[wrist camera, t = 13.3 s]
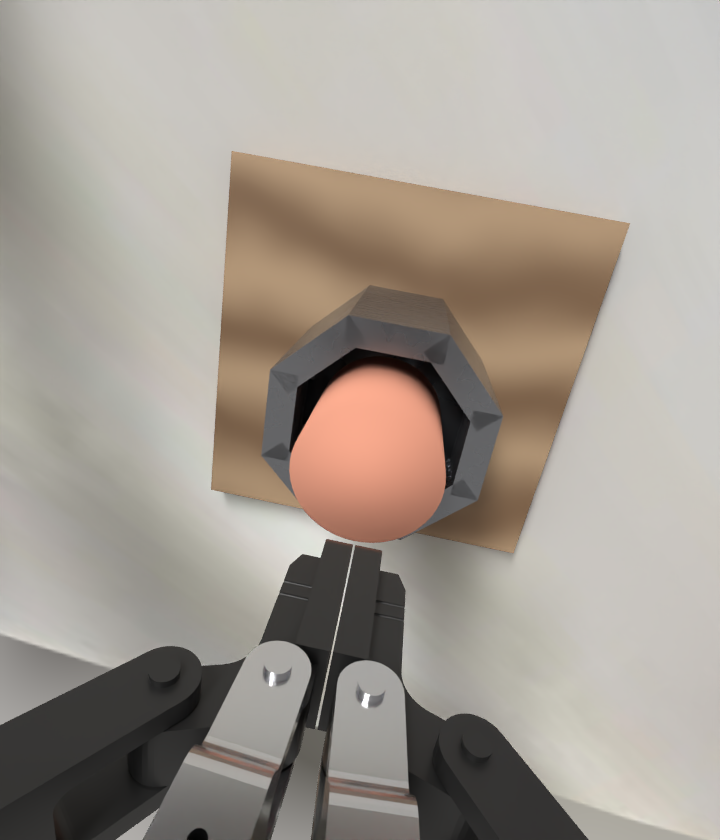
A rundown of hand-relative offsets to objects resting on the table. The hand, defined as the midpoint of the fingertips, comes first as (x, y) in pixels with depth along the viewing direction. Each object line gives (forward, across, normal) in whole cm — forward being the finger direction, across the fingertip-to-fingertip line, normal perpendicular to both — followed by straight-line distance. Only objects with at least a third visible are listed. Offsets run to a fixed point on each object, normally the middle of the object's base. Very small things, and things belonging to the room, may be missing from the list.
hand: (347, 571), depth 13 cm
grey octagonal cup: (+17, 0, 0) cm, 17 cm away
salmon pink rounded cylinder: (+11, 0, 0) cm, 11 cm away
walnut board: (+19, 0, 0) cm, 19 cm away
